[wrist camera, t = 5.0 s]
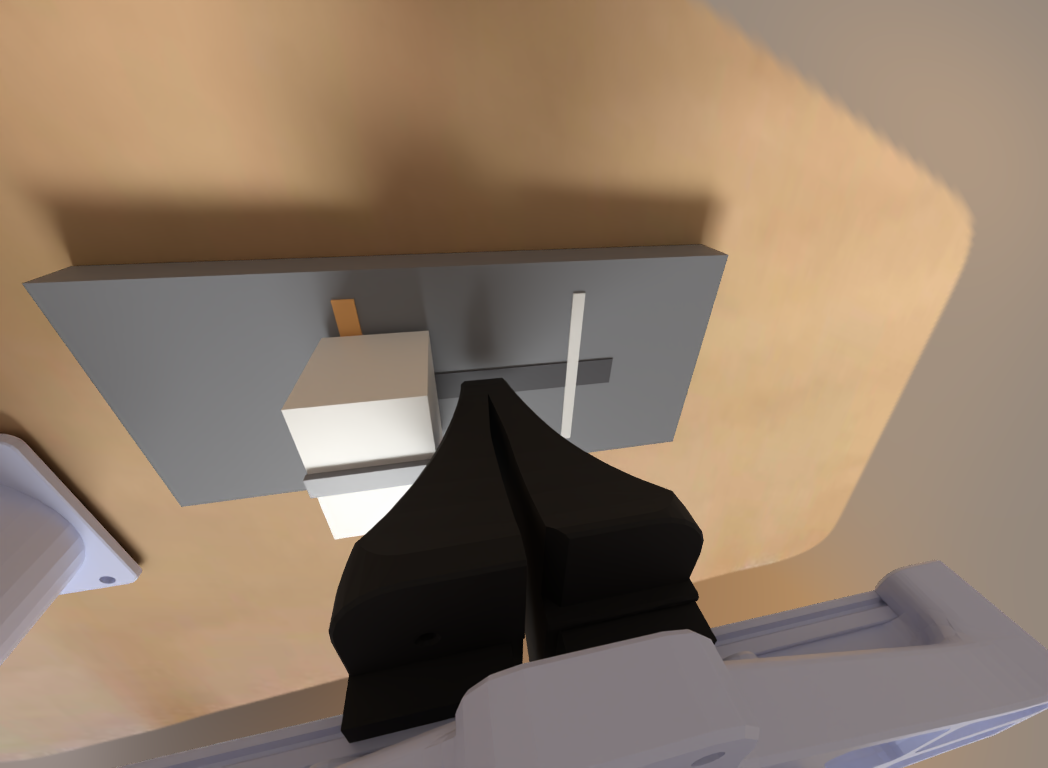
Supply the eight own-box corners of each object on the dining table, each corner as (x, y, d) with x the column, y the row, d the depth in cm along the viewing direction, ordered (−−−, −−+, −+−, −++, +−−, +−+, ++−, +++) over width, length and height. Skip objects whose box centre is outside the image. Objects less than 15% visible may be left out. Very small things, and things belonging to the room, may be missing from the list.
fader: (354, 452, 13) (331, 546, 10) (319, 338, 11) (275, 416, 8) (444, 441, 14) (448, 527, 11) (430, 330, 11) (429, 400, 8)
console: (202, 475, 15) (180, 508, 13) (71, 266, 10) (18, 284, 9) (656, 420, 18) (673, 442, 17) (701, 244, 14) (729, 255, 12)
